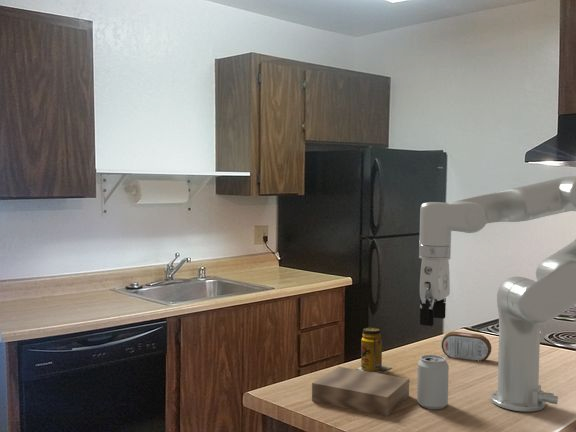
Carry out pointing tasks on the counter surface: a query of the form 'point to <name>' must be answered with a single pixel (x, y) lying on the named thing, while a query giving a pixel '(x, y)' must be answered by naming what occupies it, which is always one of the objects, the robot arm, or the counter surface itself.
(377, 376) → the chopping block
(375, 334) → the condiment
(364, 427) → the counter surface
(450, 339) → the tin
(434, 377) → the can
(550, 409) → the counter surface
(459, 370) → the counter surface
